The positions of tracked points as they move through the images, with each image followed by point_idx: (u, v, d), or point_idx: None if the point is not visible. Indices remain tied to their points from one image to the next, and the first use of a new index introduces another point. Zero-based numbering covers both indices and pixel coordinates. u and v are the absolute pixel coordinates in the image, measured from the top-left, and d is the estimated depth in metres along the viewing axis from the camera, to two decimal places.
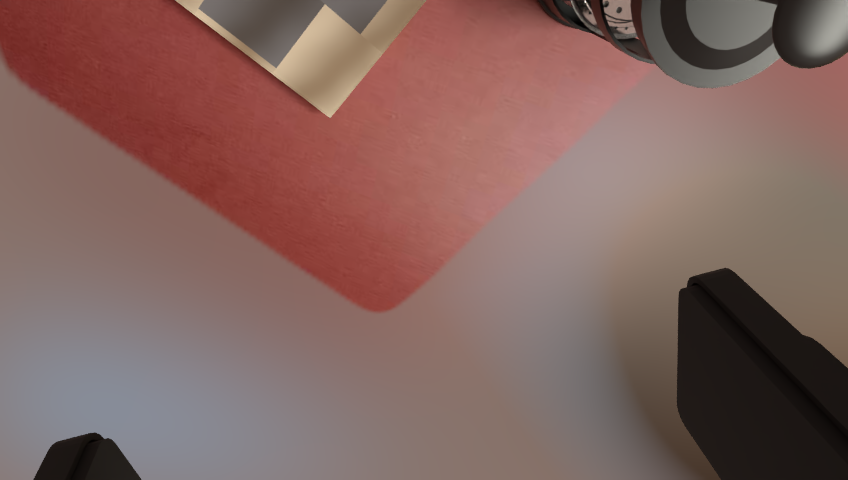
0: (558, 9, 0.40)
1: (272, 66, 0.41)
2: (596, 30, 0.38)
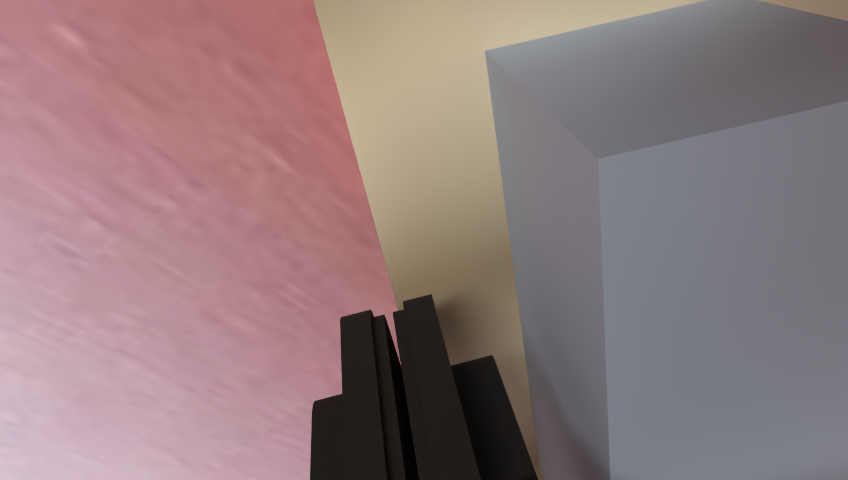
0: None
1: None
2: None
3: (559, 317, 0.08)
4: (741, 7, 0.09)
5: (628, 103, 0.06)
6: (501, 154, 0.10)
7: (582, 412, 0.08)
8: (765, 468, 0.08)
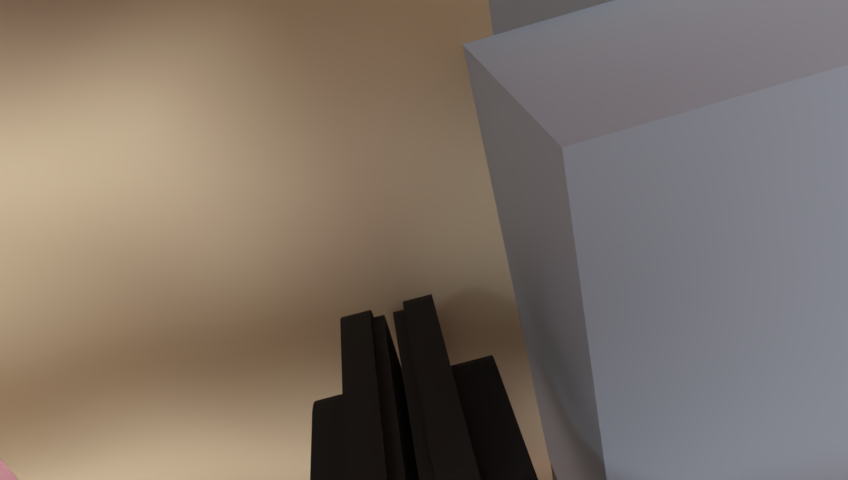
0: None
1: None
2: None
3: (548, 307, 0.08)
4: None
5: (598, 90, 0.06)
6: (486, 147, 0.10)
7: (576, 402, 0.08)
8: (764, 451, 0.08)
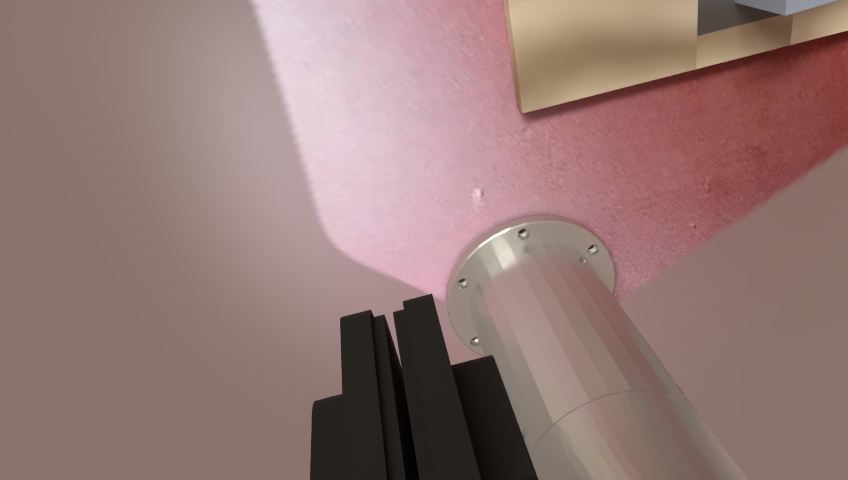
0: None
1: None
2: None
3: None
4: None
5: None
6: None
7: None
8: None
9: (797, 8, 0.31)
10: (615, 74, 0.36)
